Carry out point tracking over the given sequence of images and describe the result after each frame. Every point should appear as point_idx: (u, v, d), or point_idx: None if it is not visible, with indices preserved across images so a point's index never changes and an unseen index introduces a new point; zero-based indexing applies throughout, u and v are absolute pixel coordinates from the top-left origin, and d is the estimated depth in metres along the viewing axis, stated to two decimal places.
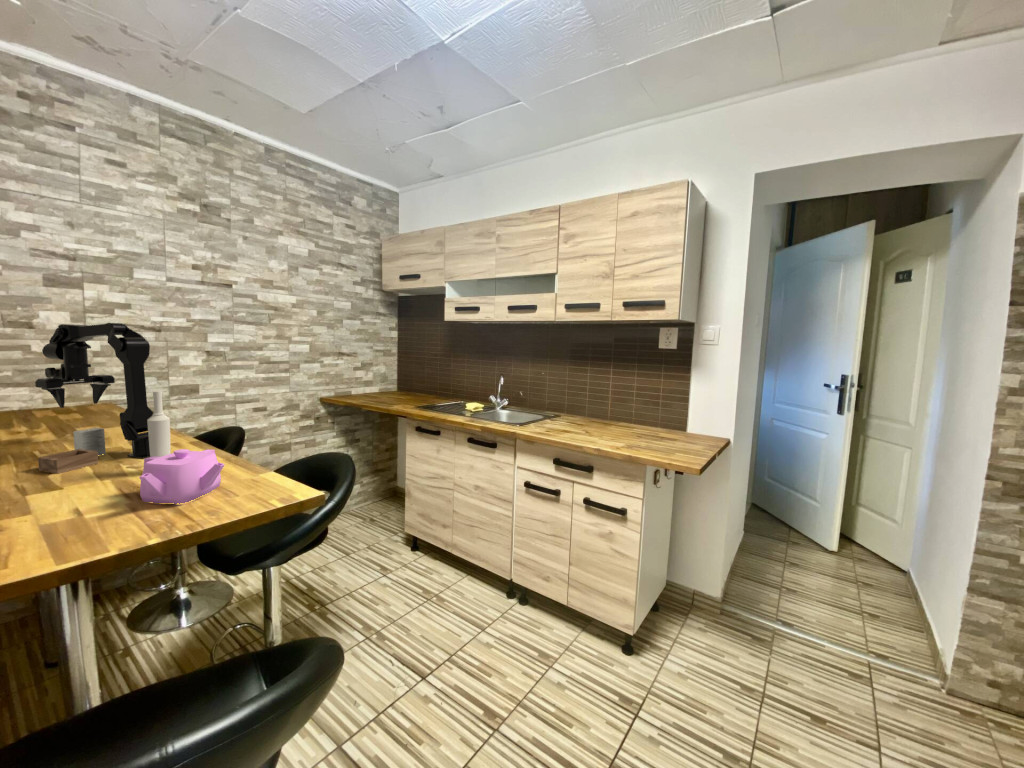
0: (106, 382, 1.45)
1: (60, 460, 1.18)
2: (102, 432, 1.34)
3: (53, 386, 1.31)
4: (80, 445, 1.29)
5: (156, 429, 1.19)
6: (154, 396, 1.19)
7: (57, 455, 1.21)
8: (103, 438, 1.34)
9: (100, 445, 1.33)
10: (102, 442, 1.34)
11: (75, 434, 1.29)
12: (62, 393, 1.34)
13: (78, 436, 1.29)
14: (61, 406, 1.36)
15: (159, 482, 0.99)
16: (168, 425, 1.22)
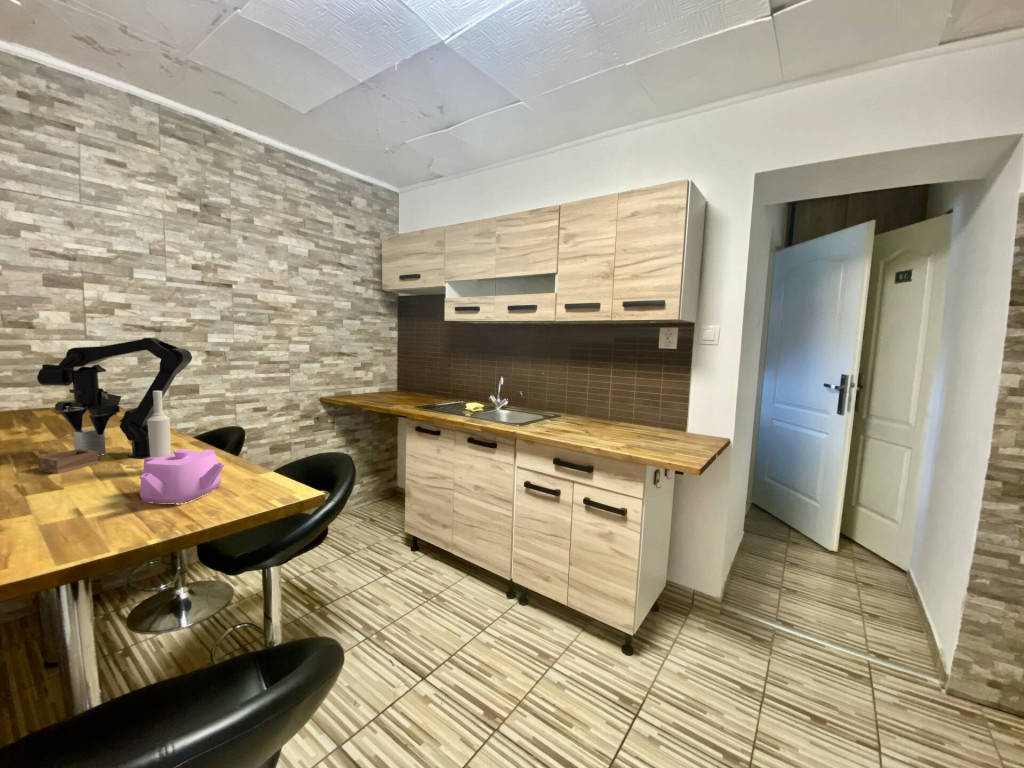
0: (91, 413, 1.26)
1: (60, 460, 1.18)
2: None
3: (57, 408, 1.29)
4: (80, 445, 1.29)
5: (156, 429, 1.19)
6: (154, 396, 1.19)
7: (57, 455, 1.21)
8: (103, 438, 1.34)
9: (100, 445, 1.33)
10: (102, 442, 1.34)
11: (75, 434, 1.29)
12: (66, 417, 1.30)
13: (78, 436, 1.29)
14: None
15: (159, 482, 0.99)
16: (168, 425, 1.22)
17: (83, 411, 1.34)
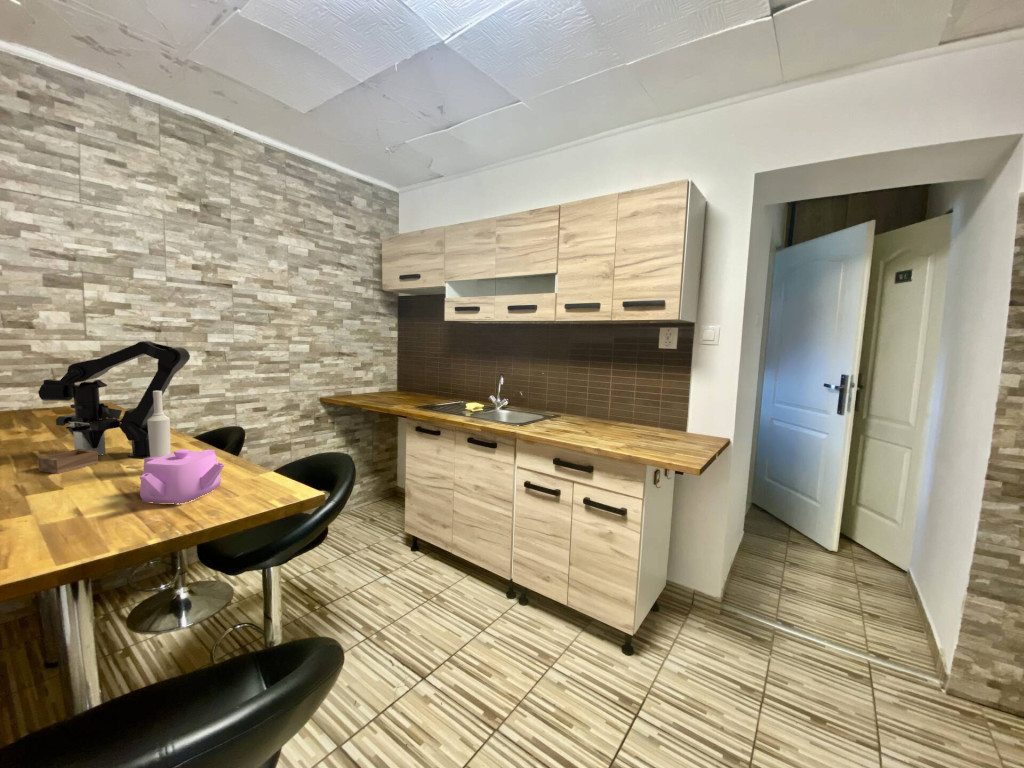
0: (92, 428, 1.27)
1: (60, 460, 1.18)
2: None
3: (57, 423, 1.30)
4: (80, 444, 1.29)
5: (156, 429, 1.19)
6: (154, 396, 1.19)
7: (57, 455, 1.21)
8: (103, 438, 1.34)
9: (100, 445, 1.33)
10: (102, 442, 1.34)
11: (75, 434, 1.29)
12: None
13: (78, 436, 1.29)
14: None
15: (159, 482, 0.99)
16: (168, 425, 1.22)
17: (90, 426, 1.34)
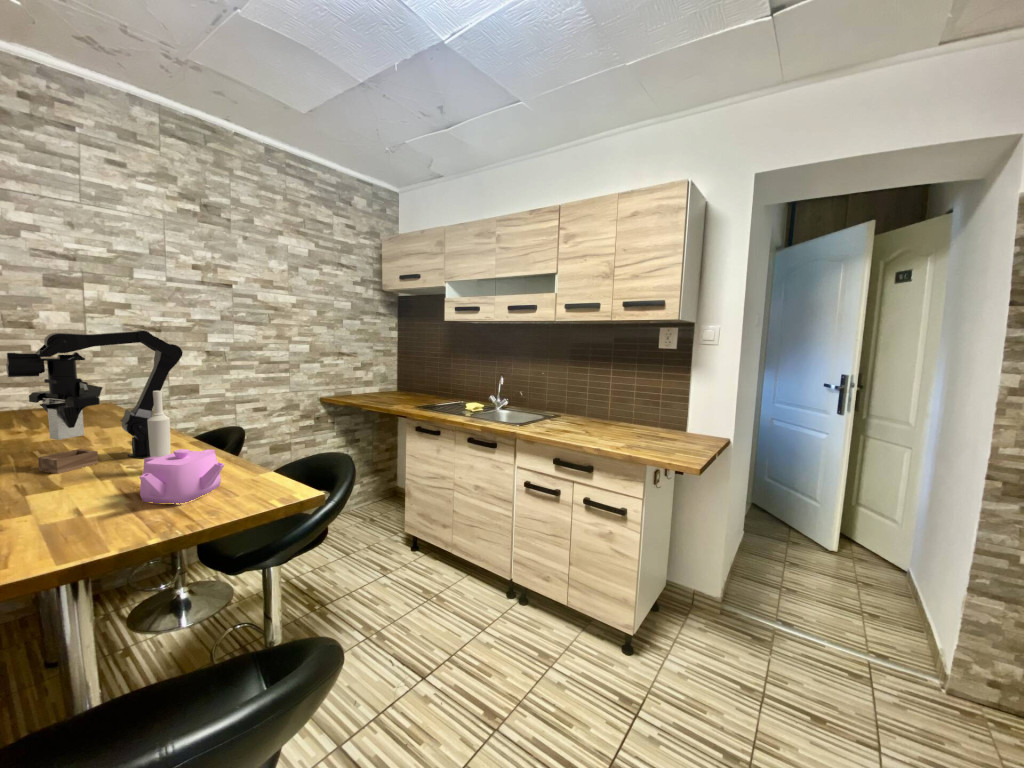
0: (67, 405, 1.16)
1: (60, 460, 1.18)
2: None
3: (31, 400, 1.19)
4: (55, 423, 1.18)
5: (156, 429, 1.19)
6: (154, 396, 1.19)
7: (57, 455, 1.21)
8: (81, 417, 1.23)
9: (78, 424, 1.22)
10: (80, 421, 1.23)
11: (49, 411, 1.18)
12: (47, 410, 1.19)
13: (53, 413, 1.18)
14: None
15: (159, 482, 0.99)
16: (168, 425, 1.22)
17: None
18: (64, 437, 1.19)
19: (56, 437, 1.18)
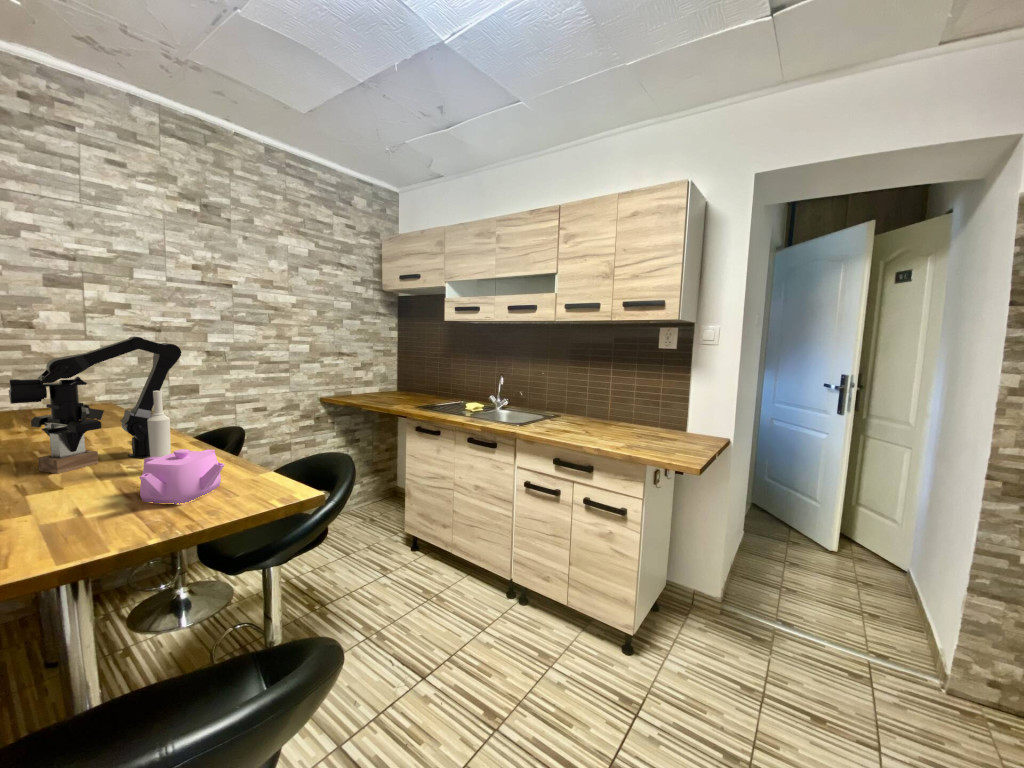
0: (69, 430, 1.17)
1: (60, 460, 1.18)
2: None
3: (33, 424, 1.20)
4: (57, 448, 1.19)
5: (156, 429, 1.19)
6: (154, 396, 1.19)
7: None
8: (83, 440, 1.24)
9: (79, 448, 1.23)
10: (82, 445, 1.24)
11: (51, 436, 1.19)
12: (49, 435, 1.20)
13: (55, 438, 1.18)
14: None
15: (159, 482, 0.99)
16: (168, 425, 1.22)
17: None
18: None
19: None
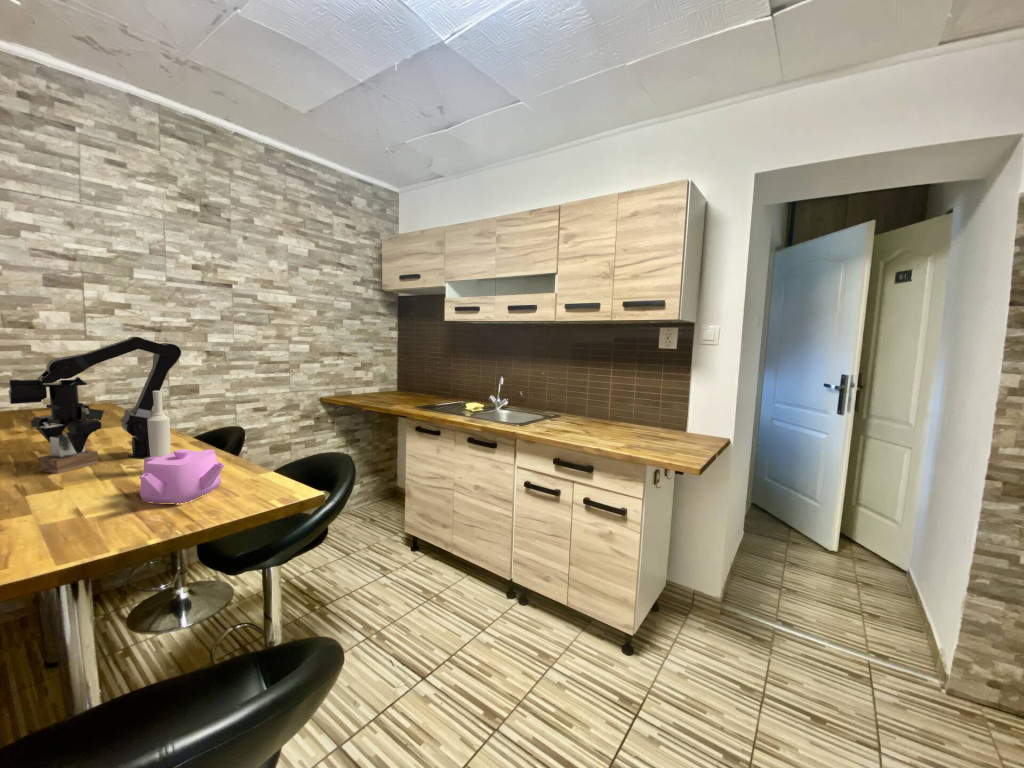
0: (69, 430, 1.17)
1: (60, 460, 1.18)
2: None
3: (33, 425, 1.20)
4: (57, 451, 1.19)
5: (156, 429, 1.19)
6: (154, 396, 1.19)
7: None
8: None
9: None
10: None
11: (52, 440, 1.19)
12: (44, 434, 1.20)
13: (55, 441, 1.19)
14: None
15: (159, 482, 0.99)
16: (168, 425, 1.22)
17: (63, 427, 1.24)
18: None
19: None
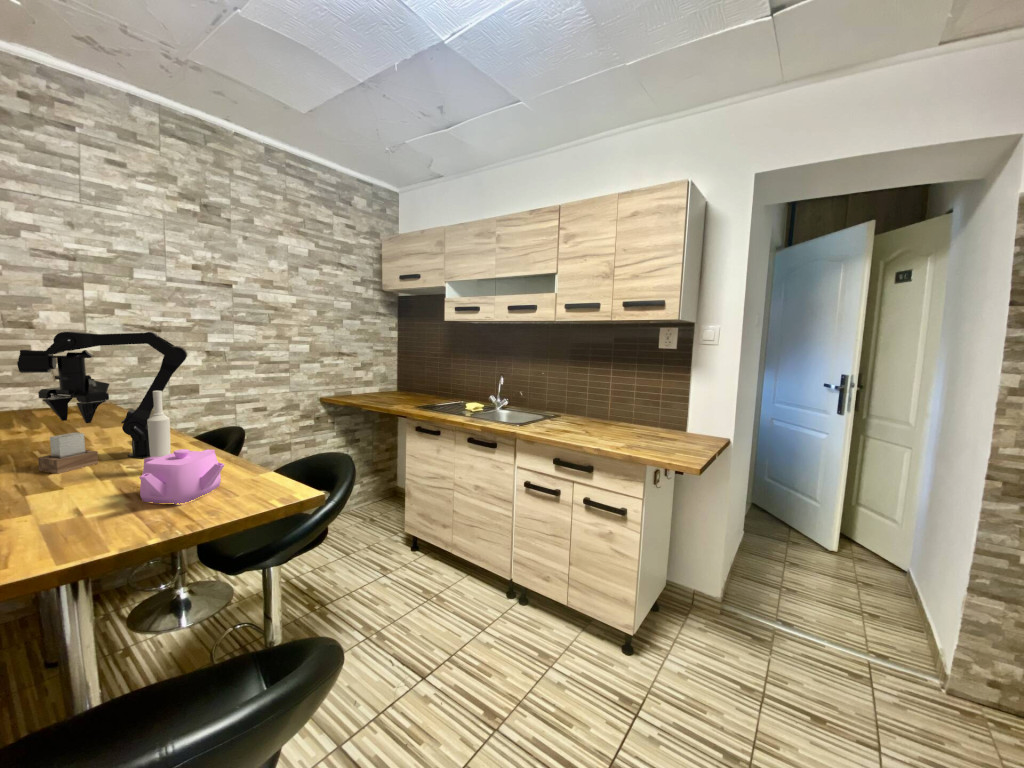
0: (79, 400, 1.21)
1: (60, 460, 1.18)
2: (82, 437, 1.24)
3: (40, 396, 1.23)
4: (57, 451, 1.19)
5: (156, 429, 1.19)
6: (154, 396, 1.19)
7: None
8: (83, 444, 1.24)
9: (80, 451, 1.23)
10: (82, 448, 1.24)
11: (52, 440, 1.19)
12: (50, 405, 1.24)
13: (55, 441, 1.19)
14: None
15: (159, 482, 0.99)
16: (168, 425, 1.22)
17: (68, 399, 1.28)
18: None
19: None
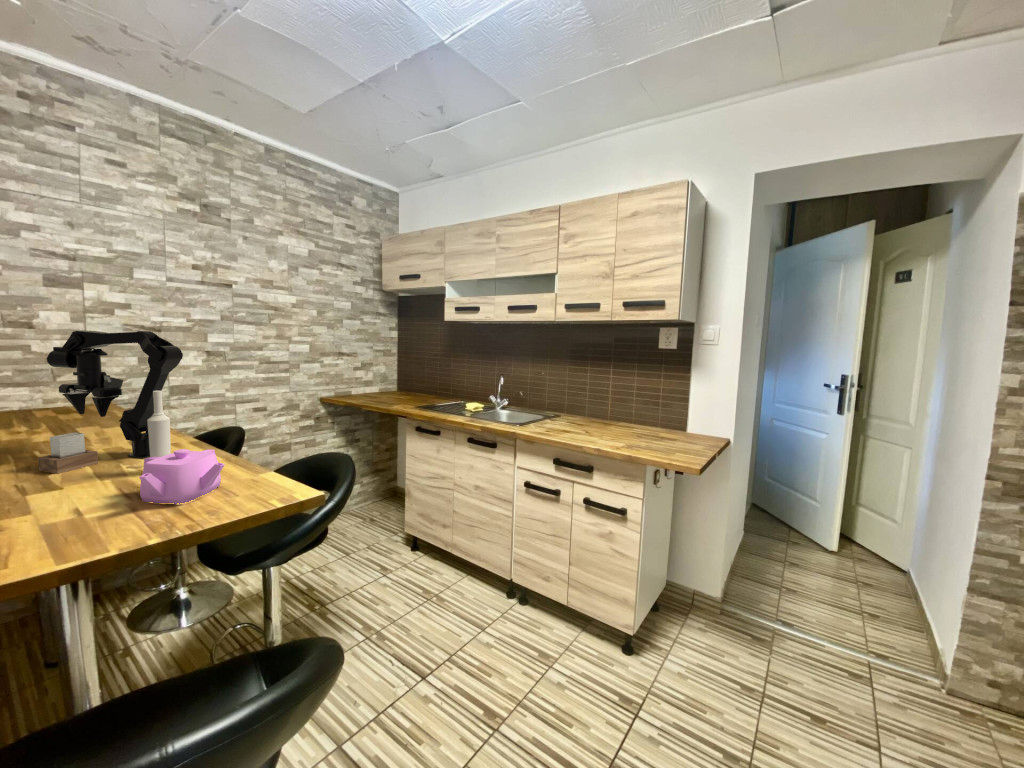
0: (94, 395, 1.29)
1: (60, 460, 1.18)
2: (82, 437, 1.24)
3: (60, 391, 1.32)
4: (57, 451, 1.19)
5: (156, 429, 1.19)
6: (154, 396, 1.19)
7: None
8: (83, 444, 1.24)
9: (80, 451, 1.23)
10: (82, 448, 1.24)
11: (52, 440, 1.19)
12: (69, 399, 1.33)
13: (55, 441, 1.19)
14: None
15: (159, 482, 0.99)
16: (168, 425, 1.22)
17: (86, 394, 1.37)
18: None
19: None
